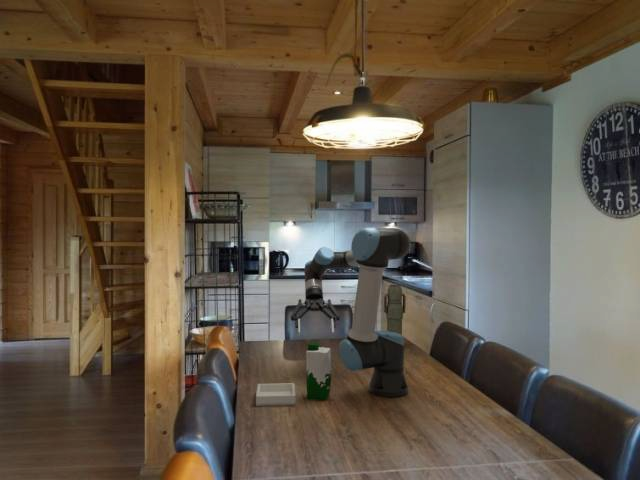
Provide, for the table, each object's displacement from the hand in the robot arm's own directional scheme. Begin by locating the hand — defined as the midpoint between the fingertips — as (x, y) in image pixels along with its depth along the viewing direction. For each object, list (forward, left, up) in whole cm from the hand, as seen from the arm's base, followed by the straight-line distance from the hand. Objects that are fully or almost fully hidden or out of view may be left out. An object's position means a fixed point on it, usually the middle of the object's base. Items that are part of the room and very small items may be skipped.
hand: (316, 334), depth 185 cm
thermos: (-46, -57, -22) cm, 76 cm away
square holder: (+16, +12, -21) cm, 29 cm away
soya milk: (0, +11, -22) cm, 24 cm away
